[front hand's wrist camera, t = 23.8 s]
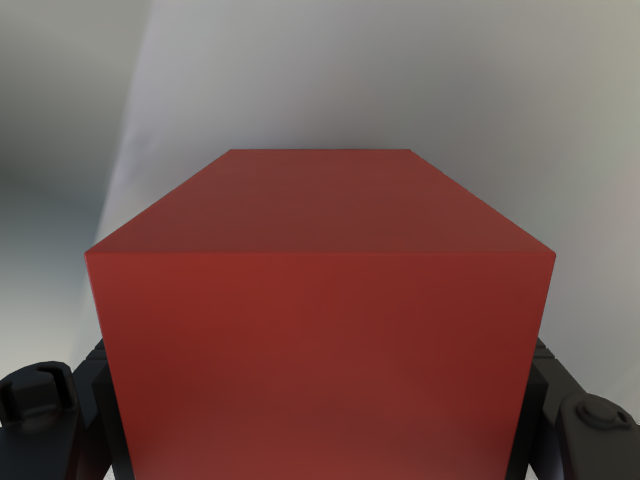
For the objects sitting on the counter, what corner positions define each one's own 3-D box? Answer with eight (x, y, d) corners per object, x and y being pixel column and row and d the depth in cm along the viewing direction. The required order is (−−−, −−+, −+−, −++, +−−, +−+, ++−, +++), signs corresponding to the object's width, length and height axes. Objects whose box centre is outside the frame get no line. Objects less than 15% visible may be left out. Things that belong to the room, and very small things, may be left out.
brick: (230, 149, 17) (81, 252, 6) (410, 149, 17) (557, 252, 6) (244, 330, 20) (160, 597, 9) (395, 330, 20) (479, 597, 9)
